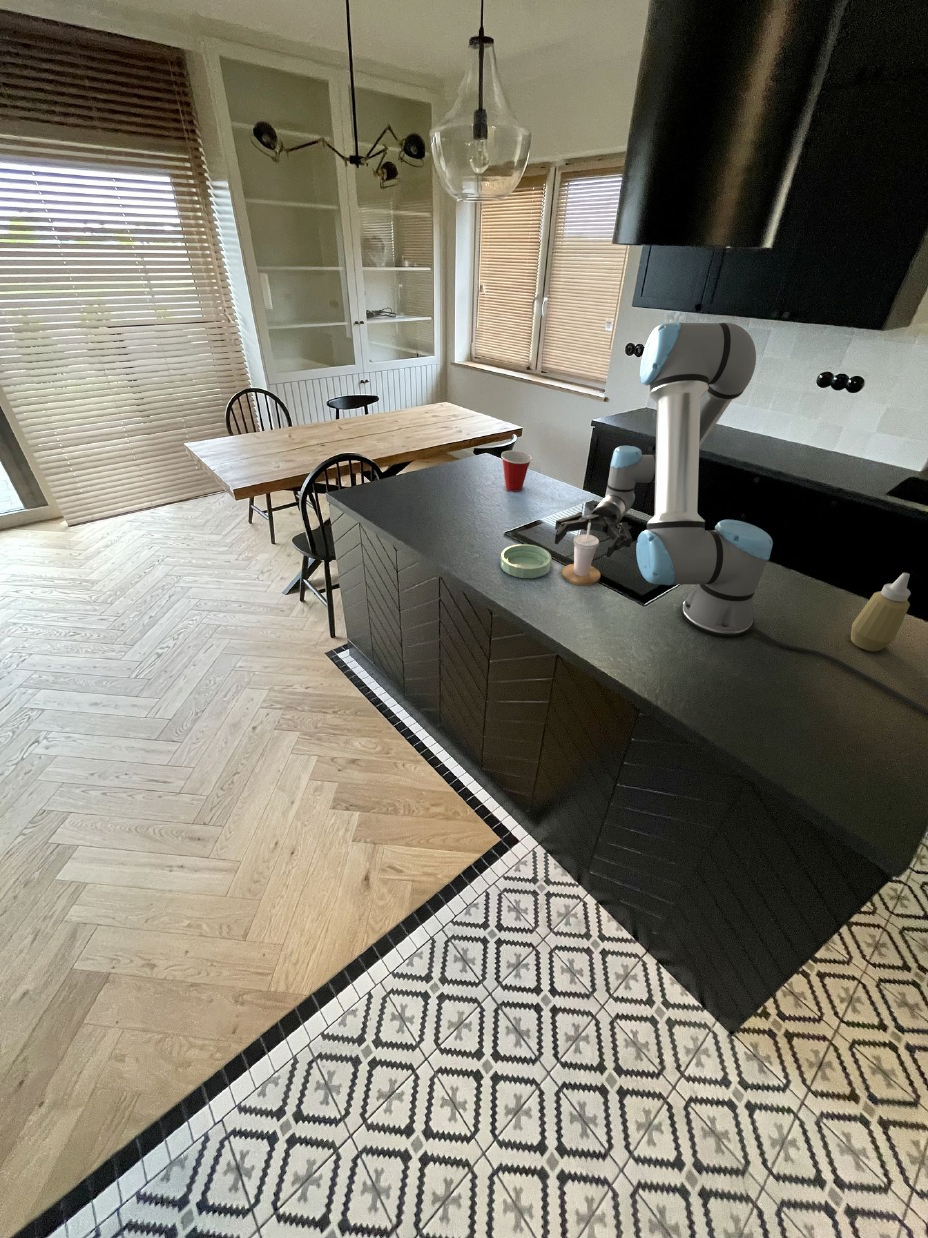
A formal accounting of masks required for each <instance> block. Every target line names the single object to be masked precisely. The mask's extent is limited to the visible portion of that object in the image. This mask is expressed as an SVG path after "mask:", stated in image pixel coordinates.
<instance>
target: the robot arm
mask: <svg viewBox="0 0 928 1238" xmlns="http://www.w3.org/2000/svg"><path fill="white" fill-rule="evenodd" d="M642 352H643V353H642V357H641V360H640V367H639V379H640V382H641V384H642V385H645V386H646V387H647V386H649V397H650V399H652V400H653V401H654V402H656V427H655V430H656V431H655V432H656V433H655V454H642V453H643V452H642V450H641V448H639V447H637V446H634V445H632V446H631V445H620V446H618V447H616V448H615V449H614V450H613V452H612V453H613V454H612V457H611V461H610V467H609V475H608V480H607V485H606V491H605V496H604V497H603V499H602V500H601V501H600V502H599V503H598V504H597V506H595V508H593V510H592V512H591V513H590V514H589V515H583V512H582V511H578V512H576V513H575V514H572V515H569V516H565V517H563V518H559V519H556V520H555V526H554V530H555V531H556V533H555V538H554V544H555V545H558V544H559V543H560V542H561V541H562V540H563V539H564V538H565V537H566V536H567V533H571V532H578V531H582V530H583V531H585V532H587V530H588V524H589V523H591V526H590V531H597V532H600V533H604V535H606V537H609V538H610V539H611V540H612V541H611V543H610V544H609V545H608V547H607V552H606V557H607V558H611V556H612V555H613V553H614V552H615V551H620V550H621V548H622V547H623V546H625V548H631V546H632V545H631V544H632V540H633V537H632V535H631V532H630V530H629V528H628V524H629V523H628V522H627V521H623V522H622V523H620V522H621V520H622V519H623V518H624V517H625V515H626V513H627V512H628V511H630V509H631V508H632V507H633V505H634V502H635V498H636V494H635V487H636V484H640V483H641V484H644V483H645V484H648V483H650V484H651V483H653V484H654V515H653V517H651V519H649V520H648V521H647V523H646V529H645V530H644V531H643V530H642V531H641V532H640V534H638V537H637V542H636V546H635V547H636V549H635V551H636V561H637V566H638V568H639V572H640V573H641V575H642V577H643V578H644V579H645V581H646V582H648V583H649V584H653V585H665V586H673V585H679V586H680V585H695V587H694V588H693V589H692V591H691V592H690V593H689V595H688V596H687V597H686V598H685V600H684V601H683V604H682V606H681V616H682V617H683V619H684V620H685V622H687V624H689V625H690V627H692V628H694V629H696V630H698V631H700V632H702V633H705V634H707V635H711V636H715V637H719V638H737V637H741V636H744V635H746V634H747V633H748V632H749V631H751V632H753V633H755V634H756V635H759V636H761V637H762V638H764V639H765V640H767V641H769V642H770V643H772V644H774V645H776V646H779V647H782V648H785V649H788V650H793V651H797V652H802V653H803V652H804V653H809V654H813V655H816V656H819V657H822V658H825V659H827V660H829V661H831V662H833V663H835V664H837V665H838V666H839V665H840V667H843V668H844V669H847V670H848V671H850V672H852V673H853V674H855V675H857V676H859V677H861V678H863V679H864V680H866V681H868V682H870V683H872V684H874V685H875V686H877V687H879V688H880V689H882V690H884V691H886V692H888V693H890V694H891V695H893V696H894V697H896V698H898V699H900V700H902V701H904V702H905V703H907V704H909V705H910V706H912V707H914V708H916V709H917V710H919V711H921V712H923V713H924V714H926V715H928V708H927V707H925V706H923V705H921V704H920V703H918V702H916V701H914V700H913V699H910V698H909V697H907V696H905V695H903V694H902V693H900V692H898V691H897V690H895V689H893V688H891V687H890V686H887V685H886V684H884V683H882V682H881V681H879V680H876V679H875V678H873V677H871V676H869V675H867V674H866V673H864V672H862V671H860V670H858V669H856V668H854V667H853V666H851V665H849V664H848V663H845V662H844V661H842V660H840V659H838V658H836V657H834V656H832V655H829V654H827V653H825V652H822V651H819V650H815V649H812V648H807V647H801V646H796V645H792V644H791V645H790V644H788V643H784V642H781V641H778V640H776V639H775V638H773V637H771V636H770V635H768V634H766V633H764V632H763V631H761V630H759V629H757V628H755V627H753V626H752V624H753V622H754V595H755V592H756V591H757V588H758V585H759V583H760V580H761V578H762V576H763V573H764V570H765V567H766V565H767V562H768V561H769V560H770V558H771V553H772V549H773V544H774V542H773V539H772V536H771V535H770V534H768V532H766V531H764V530H763V529H762V528H760V527H758V526H756V525H754V524H751V523H749V522H746V521H741V520H737V519H736V520H735V519H723V520H720V521H718V522H717V524H716V525H715V526H714V529H713V530H705V529H706V528H705V526H706V520H705V519H703V517H702V516H700V514H699V513H698V499H699V494H698V493H699V463H700V462H699V461H700V448H701V446H702V445H703V443H704V442H705V440H706V439H707V437H708V436H709V435H710V433H711V432H712V430H713V429H714V428H715V426H716V424H717V423H718V421H719V420H720V418H721V417H722V416H723V414H724V412H725V411H726V409H727V408H728V407H729V405H730V404H731V403H732V401H733V400H735V399H738V398H740V396H742V394H743V393H744V391H745V390H746V389H747V387H748V385H749V384H750V382H751V380H752V378H753V375H754V372H755V370H756V366H757V365H756V364H757V350H756V345H755V342H754V340H753V338H752V336H751V335H750V334H749V332H747V330H746V329H745V328H743V327H742V326H741V325H738V324H735V323H732V322H681V321H677V322H665V323H661V324H659V325H657V326H656V327H655V328H654V329H653V330H652V331H651V333H650V335H649V337H648V338H647V341H646V343H645V347H644V349H643V351H642Z"/></svg>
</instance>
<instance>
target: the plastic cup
mask: <svg viewBox="0 0 928 1238" xmlns="http://www.w3.org/2000/svg"><path fill="white" fill-rule="evenodd" d="M500 458H501V460H502V465H503V475H504V483H505V484H504V485H505V489H506V490H507V491H510V492H519V491H522V489H523V487H524V484H525V480H526V476H527V473H528V468H529V466H530V464H531V462H532V461H533V456H532V455H531V454H530V453H527V452H525V451H521V450H515V449H514V450H505V451H502V452H501V455H500Z"/></svg>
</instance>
